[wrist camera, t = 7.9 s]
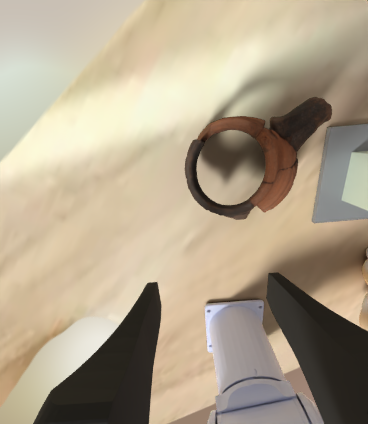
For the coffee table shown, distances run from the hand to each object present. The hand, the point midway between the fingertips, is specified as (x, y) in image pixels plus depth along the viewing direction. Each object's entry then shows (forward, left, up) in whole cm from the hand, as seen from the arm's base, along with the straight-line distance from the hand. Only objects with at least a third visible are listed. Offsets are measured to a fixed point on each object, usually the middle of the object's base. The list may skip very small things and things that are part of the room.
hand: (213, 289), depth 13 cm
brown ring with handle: (+7, -5, -11) cm, 14 cm away
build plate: (+4, -18, -10) cm, 21 cm away
